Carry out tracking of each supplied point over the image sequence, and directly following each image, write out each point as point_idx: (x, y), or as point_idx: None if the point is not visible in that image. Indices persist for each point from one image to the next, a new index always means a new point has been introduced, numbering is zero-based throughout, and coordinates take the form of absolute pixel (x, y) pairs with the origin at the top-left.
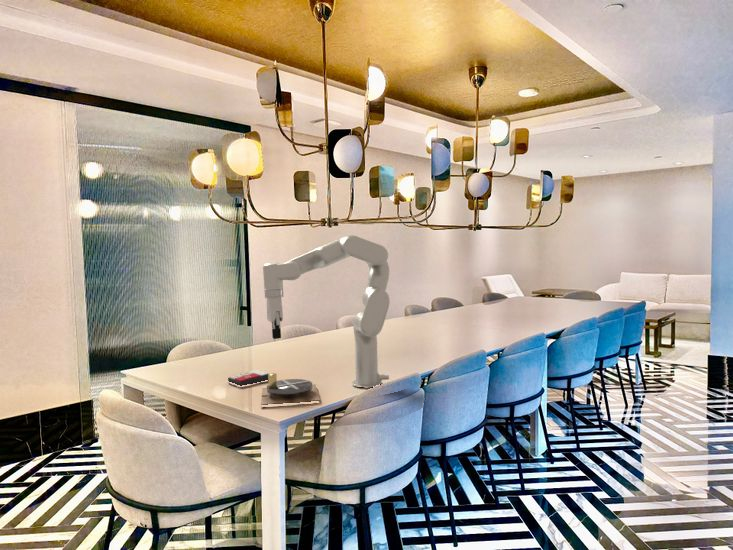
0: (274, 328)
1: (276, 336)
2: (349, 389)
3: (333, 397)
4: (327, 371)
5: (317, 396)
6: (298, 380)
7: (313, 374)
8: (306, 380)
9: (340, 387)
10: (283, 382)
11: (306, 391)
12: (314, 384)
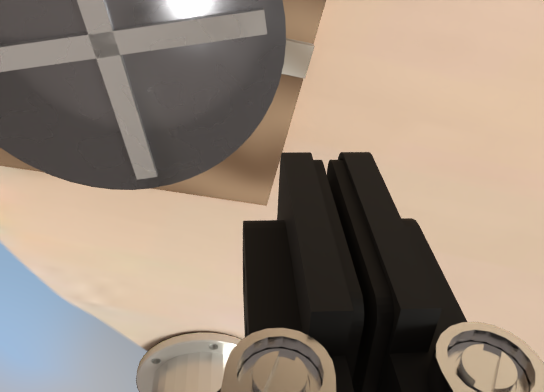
0: (229, 377)
1: (243, 234)
2: (161, 308)
3: (46, 225)
4: (526, 303)
5: (2, 158)
6: (213, 128)
7: (529, 241)
8: (187, 173)
9: (212, 287)
10: (204, 14)
11: None
12: (265, 200)
